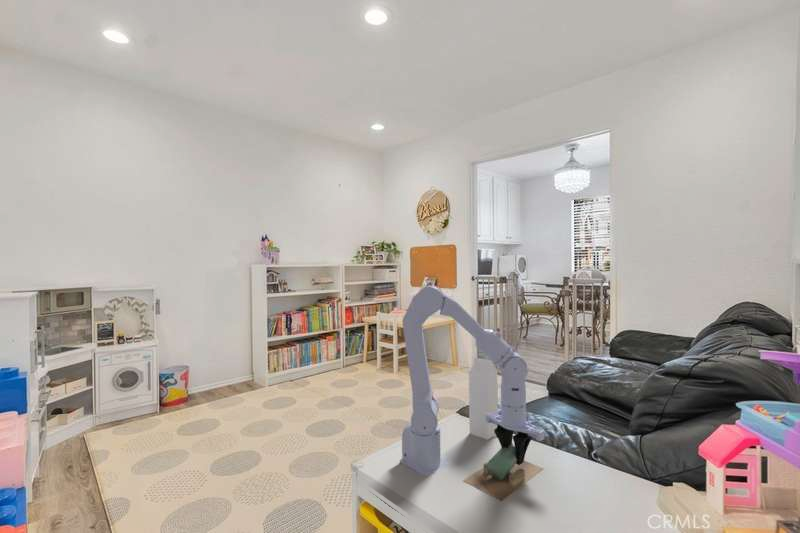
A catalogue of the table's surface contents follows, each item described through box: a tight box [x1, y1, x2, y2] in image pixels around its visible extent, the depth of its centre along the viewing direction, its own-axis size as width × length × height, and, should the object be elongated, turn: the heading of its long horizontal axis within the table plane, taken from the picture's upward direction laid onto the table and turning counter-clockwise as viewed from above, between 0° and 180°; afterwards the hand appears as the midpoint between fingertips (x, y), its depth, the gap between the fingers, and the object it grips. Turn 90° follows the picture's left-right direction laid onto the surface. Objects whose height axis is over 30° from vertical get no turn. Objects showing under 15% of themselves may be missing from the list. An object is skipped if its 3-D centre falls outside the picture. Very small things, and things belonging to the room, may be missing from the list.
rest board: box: [462, 459, 545, 502], centre depth 87 cm, size 10×18×2 cm, turn 132°
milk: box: [468, 357, 499, 441], centre depth 108 cm, size 6×6×22 cm
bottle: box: [486, 443, 517, 481], centre depth 87 cm, size 4×4×9 cm
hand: (514, 460), depth 89 cm, fingers closed on bottle, 3 cm apart
